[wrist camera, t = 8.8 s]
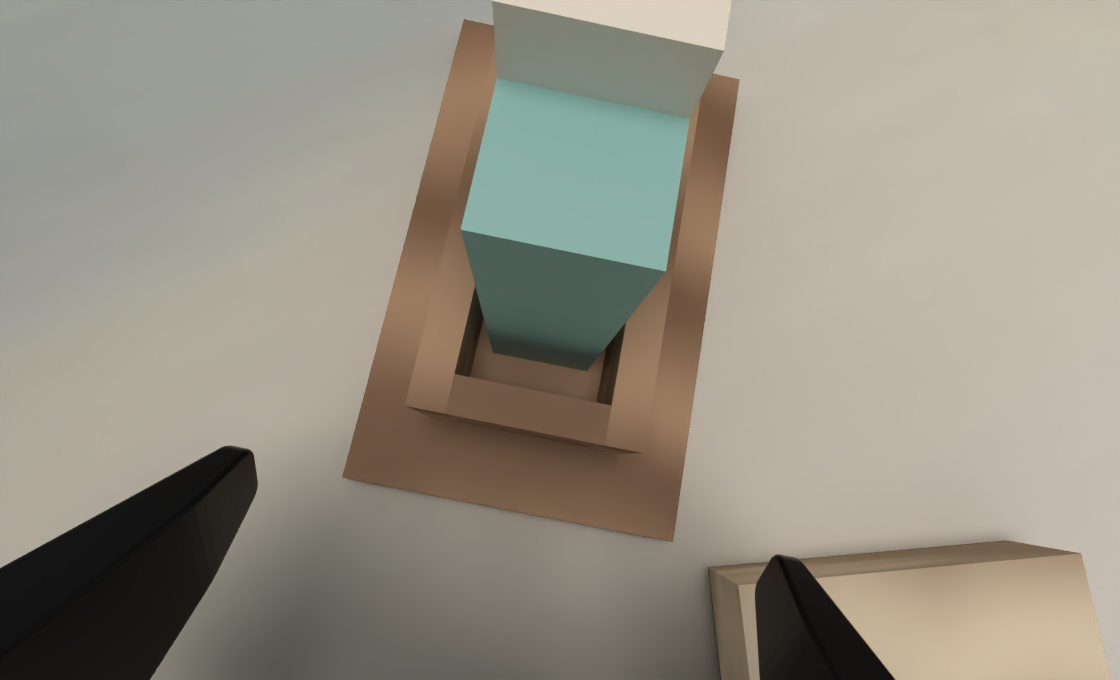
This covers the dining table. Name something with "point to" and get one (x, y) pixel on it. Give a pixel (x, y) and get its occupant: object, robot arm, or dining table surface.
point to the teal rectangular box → (583, 166)
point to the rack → (529, 386)
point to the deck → (940, 612)
